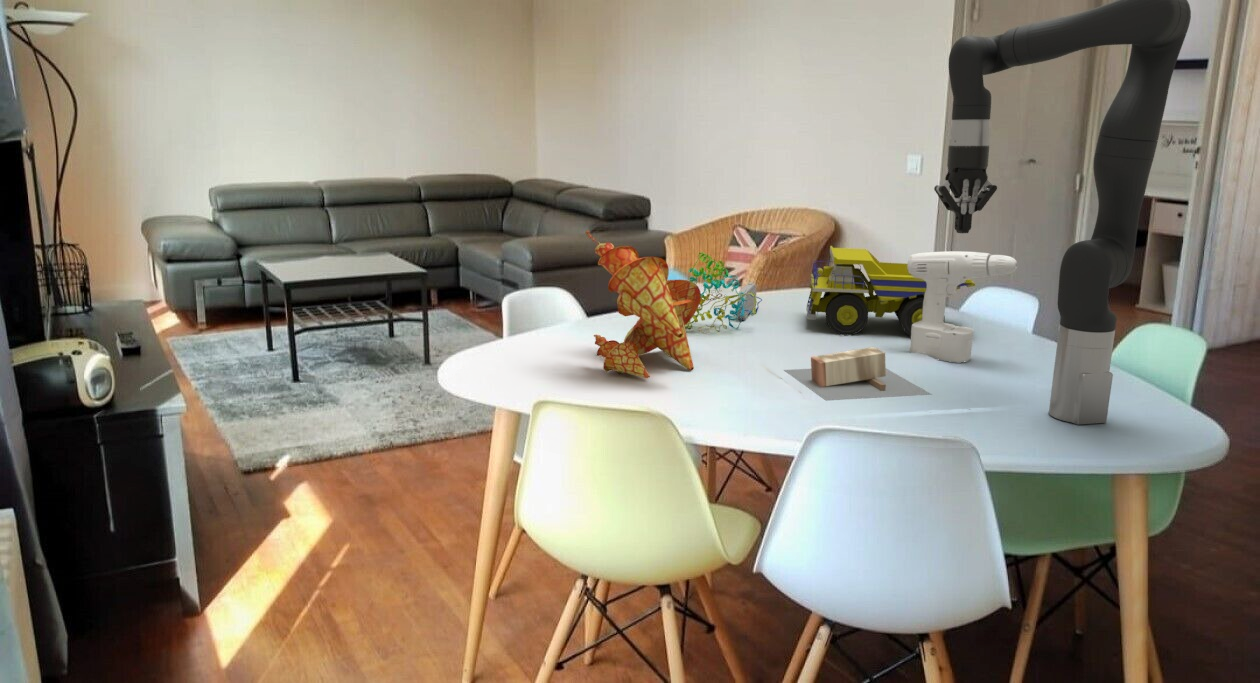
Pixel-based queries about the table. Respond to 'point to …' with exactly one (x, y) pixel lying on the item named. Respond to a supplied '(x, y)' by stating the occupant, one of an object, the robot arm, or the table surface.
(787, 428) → the table surface
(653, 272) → the sculpture
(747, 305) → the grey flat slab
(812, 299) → the toy truck
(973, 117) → the robot arm
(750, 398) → the table surface
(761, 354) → the table surface
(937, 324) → the power drill
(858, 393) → the mat
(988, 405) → the table surface
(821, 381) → the birch block
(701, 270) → the molecular model
